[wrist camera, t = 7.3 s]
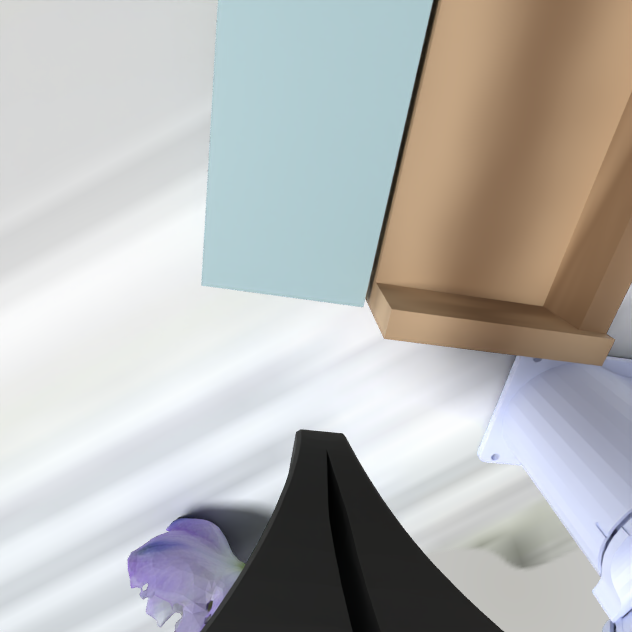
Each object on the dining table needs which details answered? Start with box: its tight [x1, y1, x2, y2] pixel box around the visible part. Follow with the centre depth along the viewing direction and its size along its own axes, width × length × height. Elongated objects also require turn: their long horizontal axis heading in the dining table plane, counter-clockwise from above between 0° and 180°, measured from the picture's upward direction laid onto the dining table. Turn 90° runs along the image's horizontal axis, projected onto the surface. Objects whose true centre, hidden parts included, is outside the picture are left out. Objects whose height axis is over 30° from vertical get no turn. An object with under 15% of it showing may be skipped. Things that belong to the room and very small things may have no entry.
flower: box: [128, 518, 246, 632], centre depth 24 cm, size 9×9×10 cm
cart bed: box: [365, 0, 632, 366], centre depth 15 cm, size 9×16×6 cm, turn 171°
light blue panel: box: [201, 0, 433, 307], centre depth 15 cm, size 1×16×7 cm
